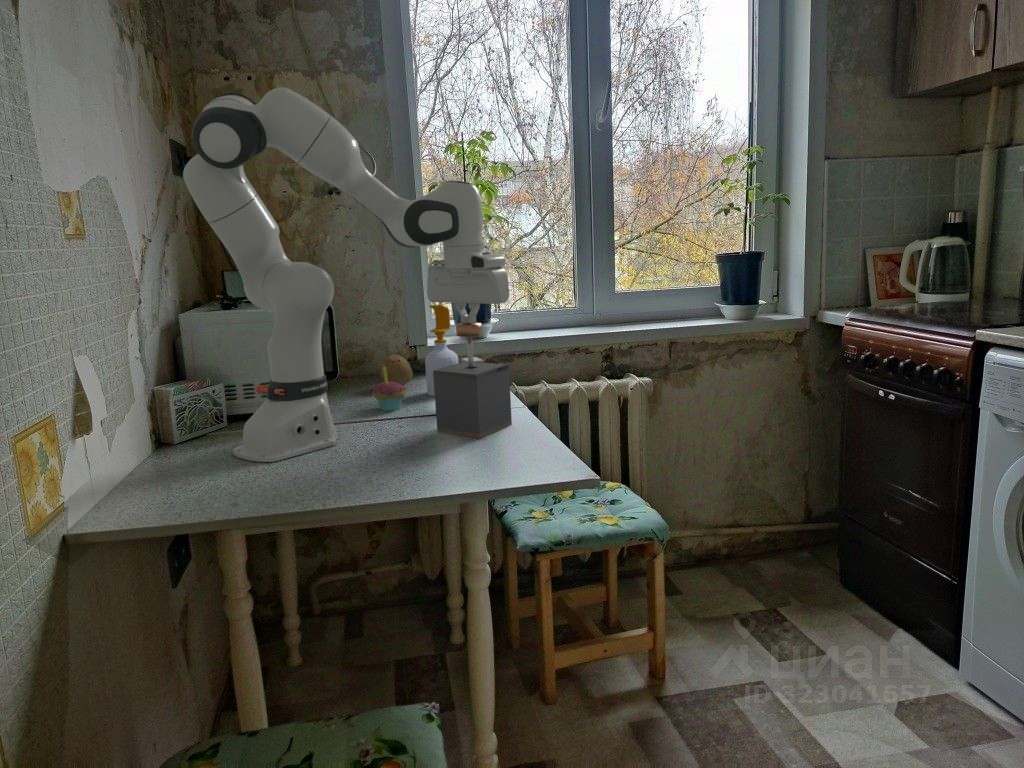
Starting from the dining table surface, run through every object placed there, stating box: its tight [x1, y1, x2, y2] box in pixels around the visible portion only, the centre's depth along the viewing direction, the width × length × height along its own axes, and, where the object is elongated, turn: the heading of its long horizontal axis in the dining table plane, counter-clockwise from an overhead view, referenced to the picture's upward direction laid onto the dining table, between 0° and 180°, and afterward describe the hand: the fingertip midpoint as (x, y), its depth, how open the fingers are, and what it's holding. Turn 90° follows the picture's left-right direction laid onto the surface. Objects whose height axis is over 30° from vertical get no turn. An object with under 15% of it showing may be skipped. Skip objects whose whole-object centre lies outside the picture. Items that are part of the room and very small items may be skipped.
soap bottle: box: [424, 304, 459, 398], centre depth 192 cm, size 9×9×25 cm
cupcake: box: [372, 364, 407, 412], centre depth 179 cm, size 9×8×12 cm
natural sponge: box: [379, 354, 414, 387], centre depth 202 cm, size 9×9×10 cm
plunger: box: [455, 321, 483, 369], centre depth 156 cm, size 10×10×15 cm
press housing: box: [433, 361, 513, 439], centre depth 158 cm, size 12×12×14 cm
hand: (468, 323), depth 154 cm, fingers closed, pressing on plunger
